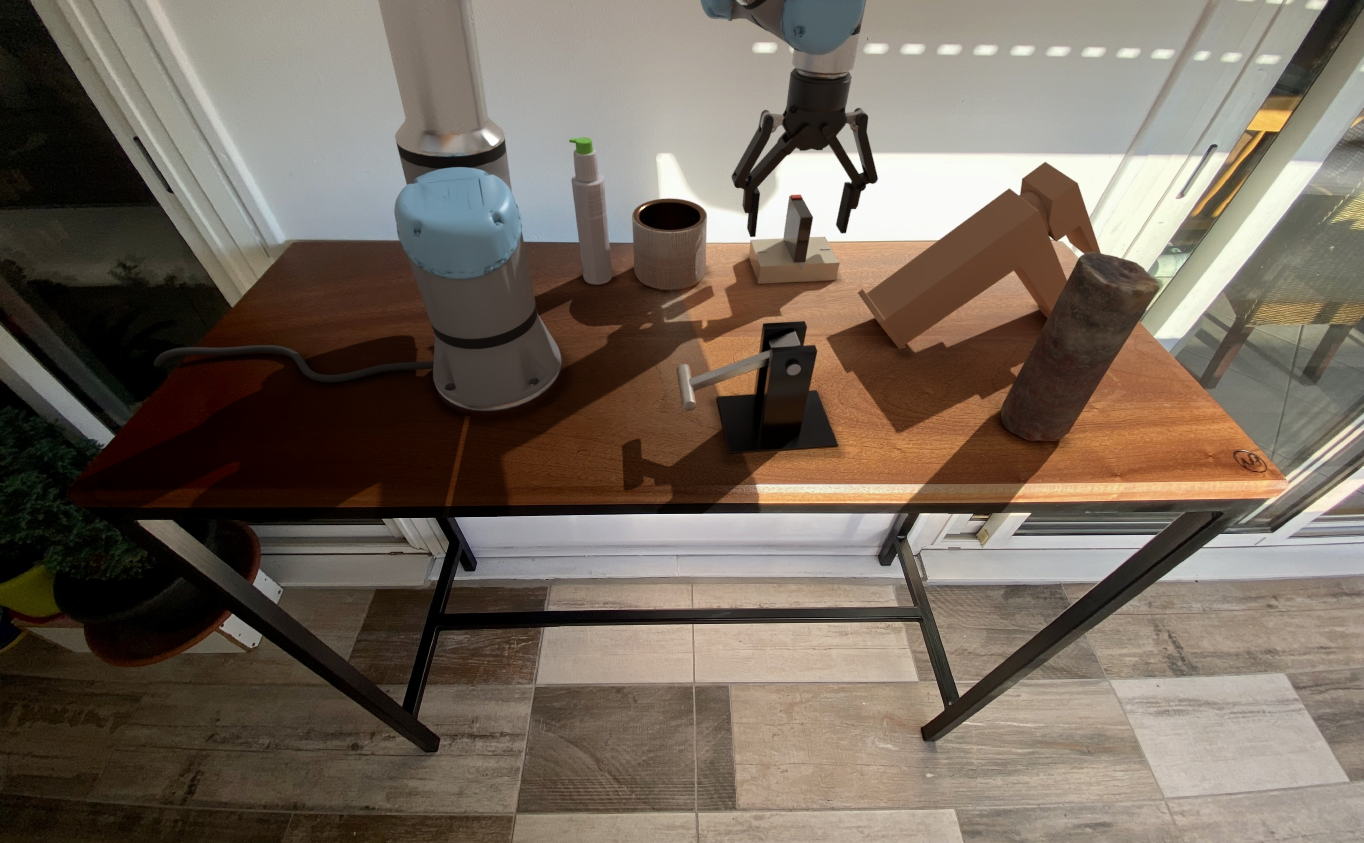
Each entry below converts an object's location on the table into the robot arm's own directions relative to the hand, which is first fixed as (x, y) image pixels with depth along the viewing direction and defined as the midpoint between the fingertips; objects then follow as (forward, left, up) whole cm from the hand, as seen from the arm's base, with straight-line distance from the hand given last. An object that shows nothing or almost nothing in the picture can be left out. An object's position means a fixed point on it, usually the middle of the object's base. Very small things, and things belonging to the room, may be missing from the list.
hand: (796, 231), depth 88 cm
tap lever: (-14, -34, +2) cm, 37 cm away
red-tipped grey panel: (0, 0, -3) cm, 3 cm away
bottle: (-30, 0, -6) cm, 31 cm away
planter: (-19, 0, -6) cm, 20 cm away
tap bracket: (-10, -34, -6) cm, 36 cm away
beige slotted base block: (0, 0, -6) cm, 6 cm away
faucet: (+20, -18, -6) cm, 28 cm away
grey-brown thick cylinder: (+20, -36, -6) cm, 42 cm away
